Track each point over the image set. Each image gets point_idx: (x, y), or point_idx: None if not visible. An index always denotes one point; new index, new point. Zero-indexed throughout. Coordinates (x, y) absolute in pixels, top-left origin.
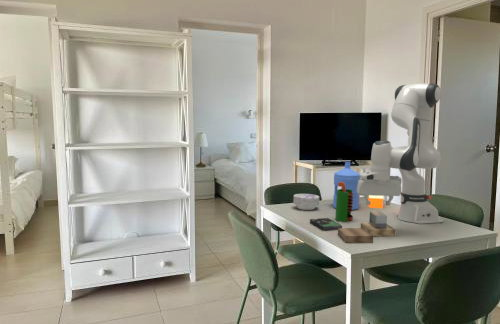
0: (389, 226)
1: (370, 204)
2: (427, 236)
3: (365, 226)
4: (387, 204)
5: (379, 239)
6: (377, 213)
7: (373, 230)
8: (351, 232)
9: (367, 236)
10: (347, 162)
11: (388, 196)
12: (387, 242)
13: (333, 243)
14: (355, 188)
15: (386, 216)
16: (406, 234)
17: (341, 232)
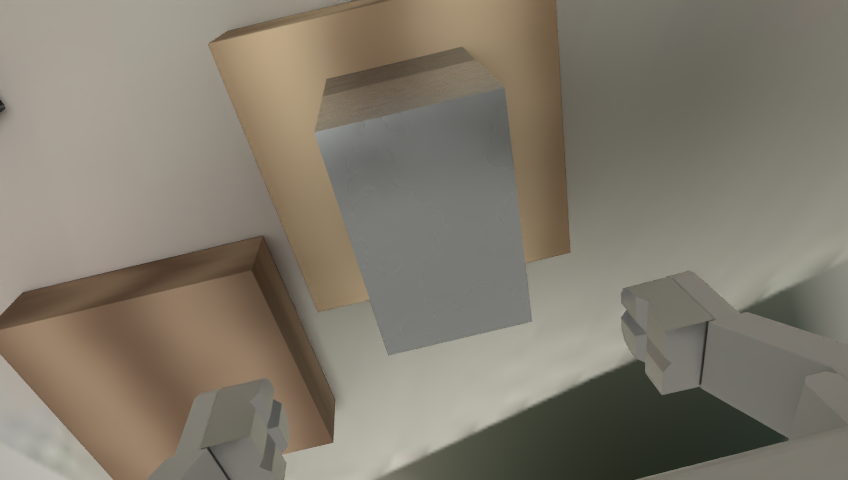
0: (549, 150)
1: (288, 431)
2: (824, 170)
3: (274, 204)
4: (633, 348)
5: None
6: (427, 232)
7: (352, 300)
8: (151, 413)
9: (289, 449)
10: None
11: (818, 396)
12: (438, 373)
13: (61, 469)
14: None
15: (522, 315)
16: (672, 149)
17: (61, 413)
